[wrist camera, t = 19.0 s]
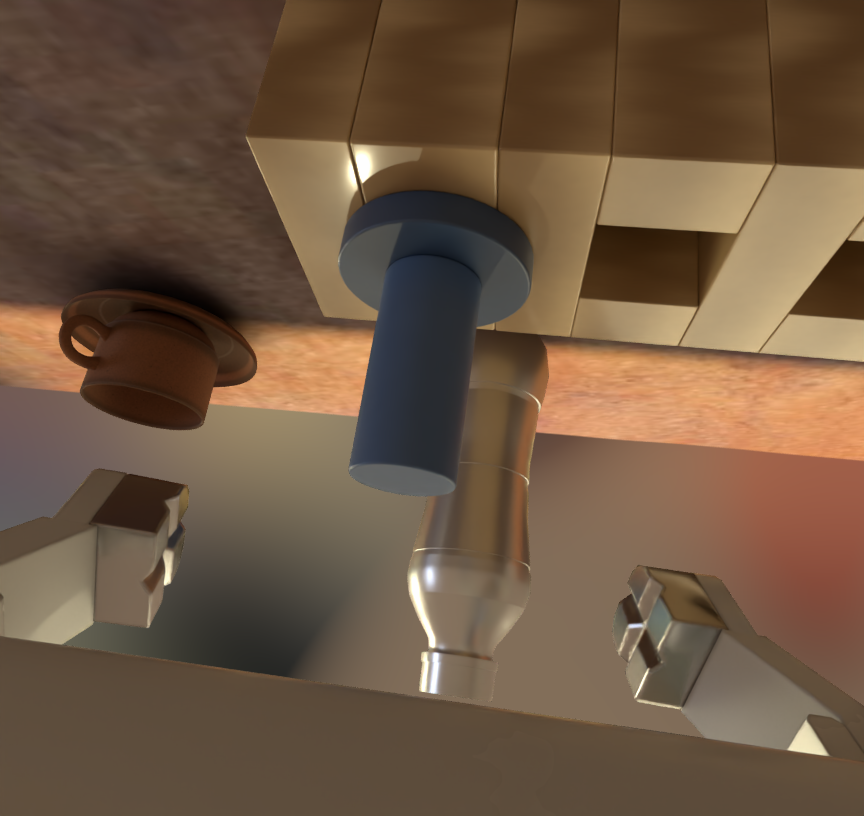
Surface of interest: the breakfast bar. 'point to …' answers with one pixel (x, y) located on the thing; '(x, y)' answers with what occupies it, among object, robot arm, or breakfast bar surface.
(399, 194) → the peg
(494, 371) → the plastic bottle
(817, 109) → the rack
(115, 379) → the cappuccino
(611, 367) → the breakfast bar surface
